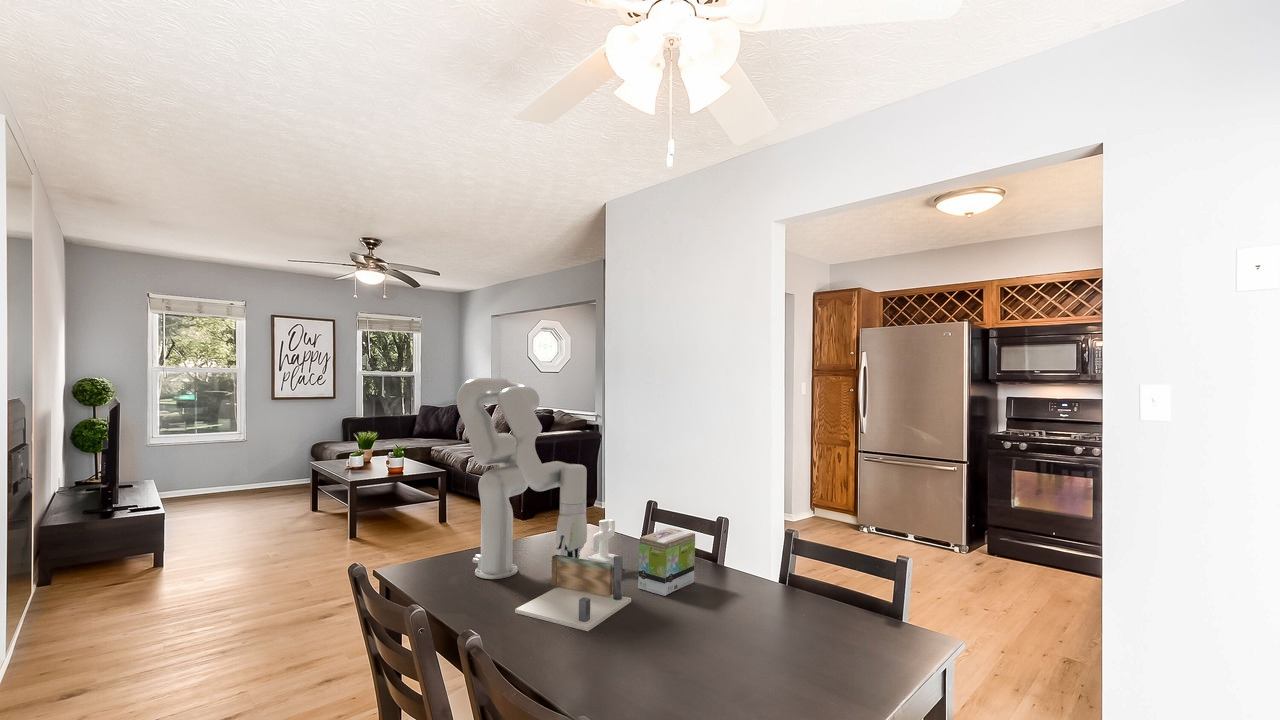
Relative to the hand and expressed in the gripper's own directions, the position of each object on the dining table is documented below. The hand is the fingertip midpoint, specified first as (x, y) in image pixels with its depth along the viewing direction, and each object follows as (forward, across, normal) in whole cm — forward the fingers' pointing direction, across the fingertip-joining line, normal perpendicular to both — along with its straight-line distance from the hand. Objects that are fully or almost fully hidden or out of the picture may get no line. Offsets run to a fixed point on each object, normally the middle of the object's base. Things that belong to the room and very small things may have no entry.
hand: (572, 572), depth 170 cm
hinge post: (+4, +12, +17) cm, 21 cm away
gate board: (+4, +12, +9) cm, 16 cm away
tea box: (+4, -14, +24) cm, 28 cm away
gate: (+3, +4, +6) cm, 7 cm away
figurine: (+4, -19, 0) cm, 19 cm away
